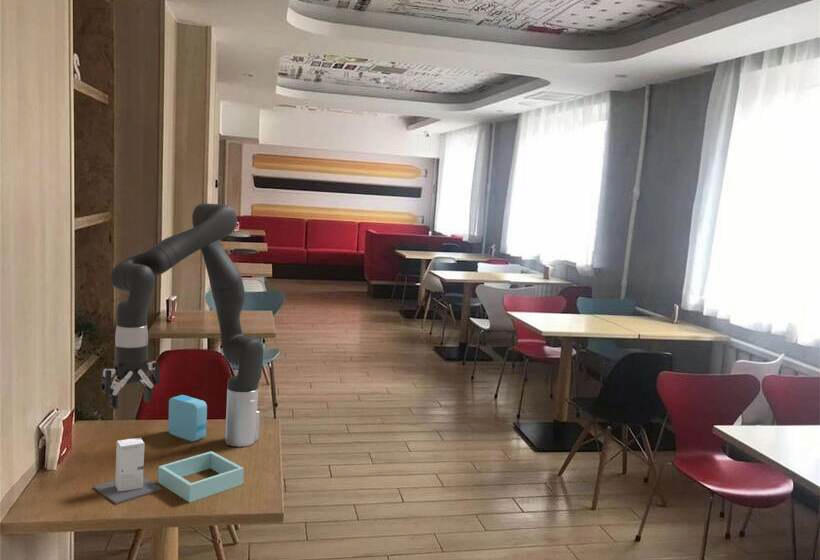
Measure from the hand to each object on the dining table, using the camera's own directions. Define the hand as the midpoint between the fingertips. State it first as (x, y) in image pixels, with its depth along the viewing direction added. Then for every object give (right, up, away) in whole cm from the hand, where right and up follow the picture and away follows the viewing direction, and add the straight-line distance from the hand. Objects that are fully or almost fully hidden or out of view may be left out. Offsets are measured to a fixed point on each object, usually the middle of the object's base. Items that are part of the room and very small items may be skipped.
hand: (130, 405), depth 167 cm
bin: (+15, -22, +8) cm, 28 cm away
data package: (+1, -17, +40) cm, 43 cm away
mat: (-2, -22, +2) cm, 22 cm away
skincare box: (-1, -22, +2) cm, 22 cm away
